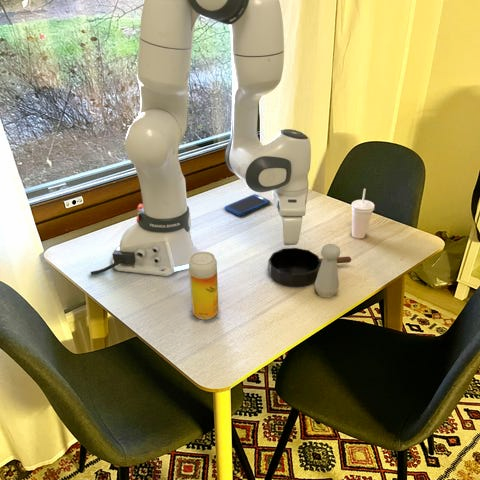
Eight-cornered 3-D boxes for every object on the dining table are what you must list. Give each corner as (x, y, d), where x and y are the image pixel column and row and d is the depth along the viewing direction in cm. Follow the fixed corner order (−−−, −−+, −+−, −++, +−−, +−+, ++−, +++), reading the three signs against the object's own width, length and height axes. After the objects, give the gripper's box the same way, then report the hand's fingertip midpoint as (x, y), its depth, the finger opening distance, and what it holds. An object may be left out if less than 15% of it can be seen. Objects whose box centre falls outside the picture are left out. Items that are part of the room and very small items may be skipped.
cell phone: (270, 202, 166) (270, 200, 166) (239, 216, 159) (239, 214, 158) (254, 195, 171) (254, 193, 170) (223, 209, 163) (223, 206, 163)
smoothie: (367, 229, 152) (374, 184, 144) (371, 240, 147) (379, 194, 139) (345, 230, 152) (351, 185, 143) (349, 241, 147) (356, 194, 138)
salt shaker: (336, 301, 124) (343, 254, 116) (312, 298, 125) (317, 252, 117) (338, 287, 129) (344, 241, 121) (315, 285, 130) (319, 239, 122)
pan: (274, 289, 128) (274, 277, 126) (264, 261, 139) (265, 250, 136) (357, 282, 131) (359, 270, 128) (342, 255, 141) (344, 244, 139)
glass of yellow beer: (220, 319, 119) (218, 263, 110) (194, 322, 118) (190, 266, 109) (216, 303, 124) (213, 249, 114) (190, 307, 123) (186, 252, 114)
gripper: (275, 178, 141) (273, 224, 149) (280, 212, 125) (277, 262, 133) (298, 178, 141) (295, 224, 149) (306, 213, 125) (301, 262, 133)
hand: (286, 242), depth 141 cm, fingers closed
